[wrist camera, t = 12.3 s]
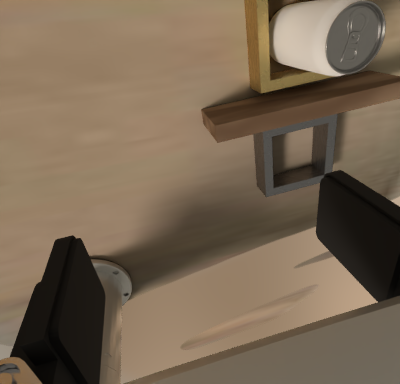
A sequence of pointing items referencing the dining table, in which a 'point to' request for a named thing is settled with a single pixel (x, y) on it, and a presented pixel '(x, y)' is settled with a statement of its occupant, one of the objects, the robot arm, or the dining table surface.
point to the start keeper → (301, 176)
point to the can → (327, 35)
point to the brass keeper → (260, 54)
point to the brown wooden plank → (299, 104)
